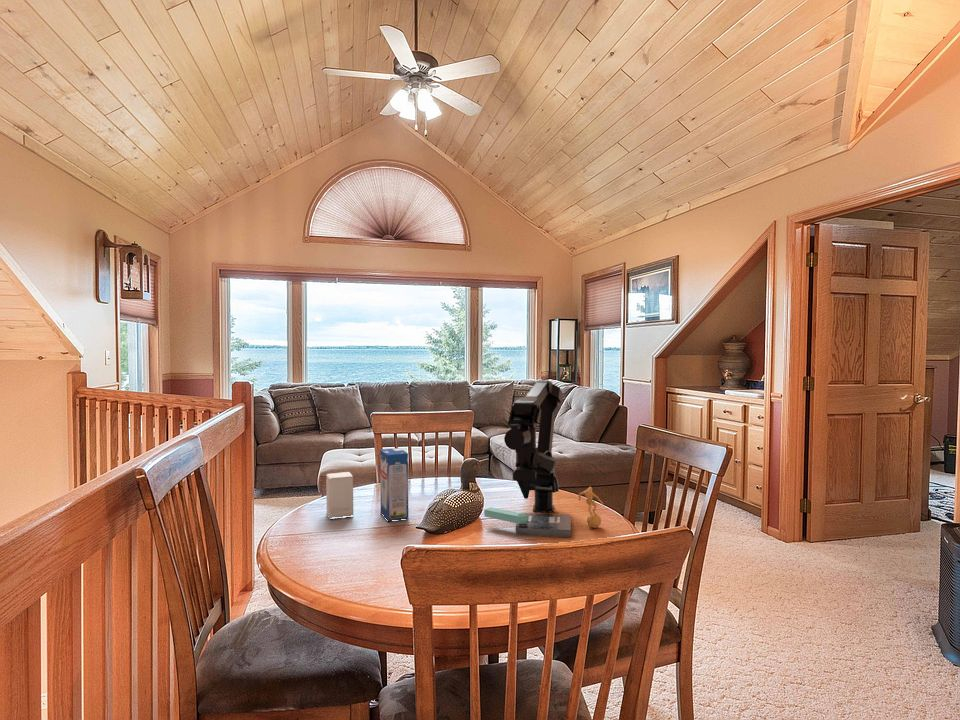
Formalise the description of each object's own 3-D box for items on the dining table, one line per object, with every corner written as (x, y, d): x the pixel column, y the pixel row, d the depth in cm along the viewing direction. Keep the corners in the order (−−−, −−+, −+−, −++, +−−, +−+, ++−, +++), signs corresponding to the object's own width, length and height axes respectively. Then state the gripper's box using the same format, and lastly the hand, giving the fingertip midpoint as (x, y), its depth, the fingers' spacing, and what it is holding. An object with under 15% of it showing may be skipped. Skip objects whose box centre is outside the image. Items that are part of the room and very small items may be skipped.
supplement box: (354, 517, 165) (353, 476, 164) (328, 520, 162) (328, 478, 162) (350, 510, 171) (350, 471, 171) (326, 513, 169) (325, 473, 168)
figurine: (610, 529, 152) (610, 486, 152) (598, 534, 148) (598, 490, 148) (586, 522, 158) (585, 481, 158) (573, 527, 154) (573, 485, 154)
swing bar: (484, 516, 155) (484, 509, 155) (490, 513, 157) (490, 507, 157) (524, 525, 147) (524, 517, 147) (530, 522, 149) (530, 514, 149)
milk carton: (380, 513, 169) (379, 449, 168) (400, 510, 171) (399, 447, 171) (388, 522, 159) (387, 454, 159) (408, 519, 162) (408, 453, 161)
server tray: (519, 519, 162) (519, 510, 162) (569, 521, 160) (569, 512, 160) (515, 535, 148) (515, 525, 148) (571, 537, 146) (571, 527, 146)
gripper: (554, 450, 145) (554, 508, 145) (554, 439, 163) (554, 490, 163) (512, 449, 146) (512, 507, 147) (517, 438, 165) (517, 489, 165)
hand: (526, 498), depth 155 cm, fingers closed
